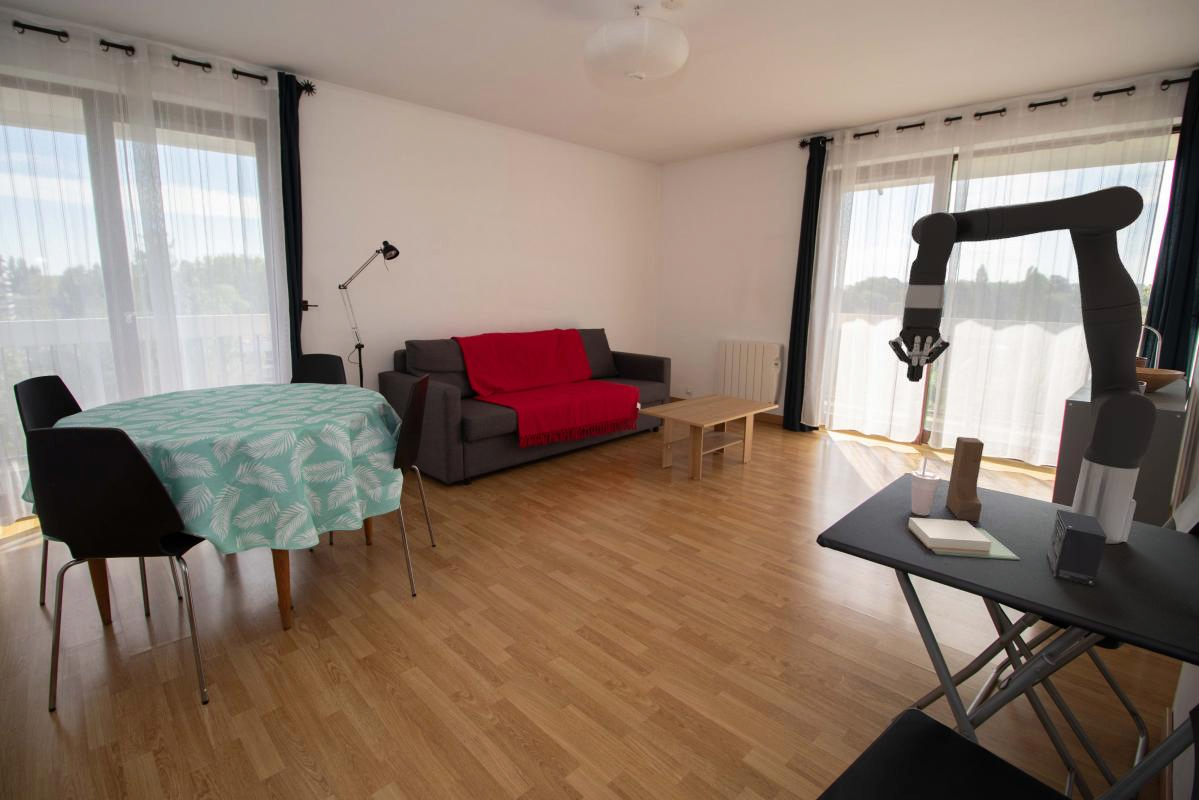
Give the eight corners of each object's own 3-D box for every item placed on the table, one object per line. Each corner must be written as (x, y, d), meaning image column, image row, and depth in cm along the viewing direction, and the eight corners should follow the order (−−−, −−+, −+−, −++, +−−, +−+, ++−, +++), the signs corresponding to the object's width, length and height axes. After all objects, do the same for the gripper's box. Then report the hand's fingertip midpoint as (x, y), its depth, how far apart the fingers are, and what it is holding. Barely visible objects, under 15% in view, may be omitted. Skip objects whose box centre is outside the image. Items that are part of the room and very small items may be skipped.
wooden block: (979, 522, 131) (992, 448, 127) (957, 519, 132) (970, 447, 128) (965, 507, 139) (977, 437, 135) (945, 504, 140) (956, 436, 136)
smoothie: (910, 504, 140) (918, 451, 137) (938, 512, 136) (947, 457, 132) (901, 511, 136) (909, 457, 132) (930, 520, 131) (939, 463, 128)
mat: (982, 529, 127) (982, 528, 127) (1019, 560, 113) (1020, 558, 113) (907, 524, 128) (908, 523, 128) (936, 554, 115) (936, 553, 115)
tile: (908, 527, 127) (964, 530, 125) (928, 548, 117) (989, 552, 116) (909, 517, 126) (966, 521, 125) (929, 537, 116) (991, 541, 115)
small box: (1097, 588, 103) (1109, 536, 101) (1052, 577, 107) (1063, 527, 104) (1086, 564, 112) (1097, 515, 110) (1045, 555, 116) (1055, 508, 113)
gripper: (945, 305, 129) (935, 379, 132) (886, 304, 130) (877, 377, 133) (963, 306, 121) (952, 385, 125) (900, 306, 122) (890, 383, 126)
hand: (913, 381), depth 129 cm, fingers closed
